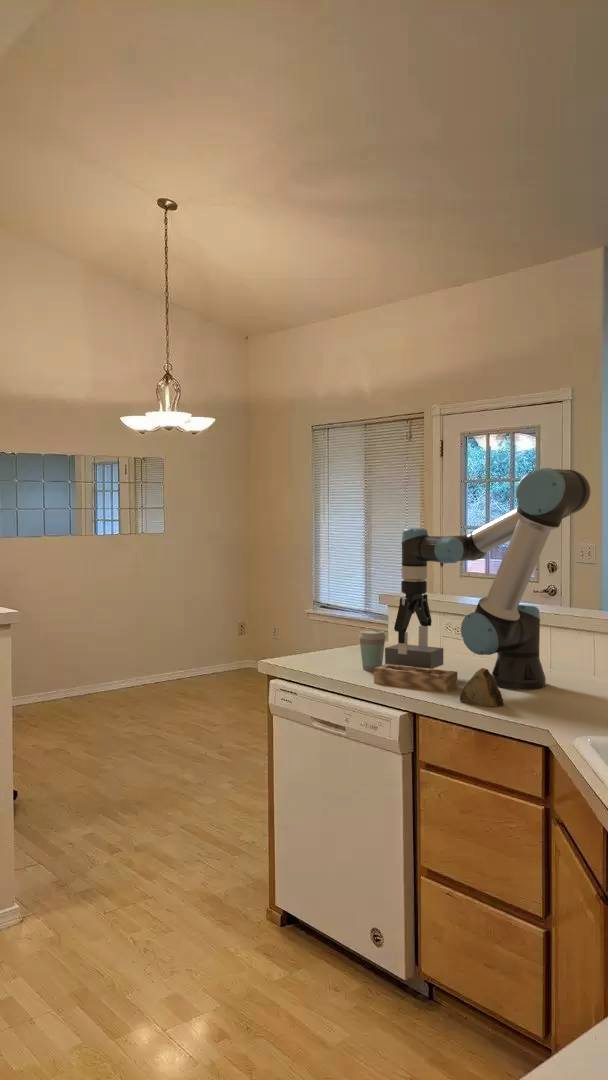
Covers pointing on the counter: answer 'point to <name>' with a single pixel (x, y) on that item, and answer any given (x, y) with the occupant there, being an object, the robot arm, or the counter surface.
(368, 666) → the coffee cup
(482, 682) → the rock
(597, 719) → the counter surface
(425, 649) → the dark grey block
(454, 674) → the brown long open box
